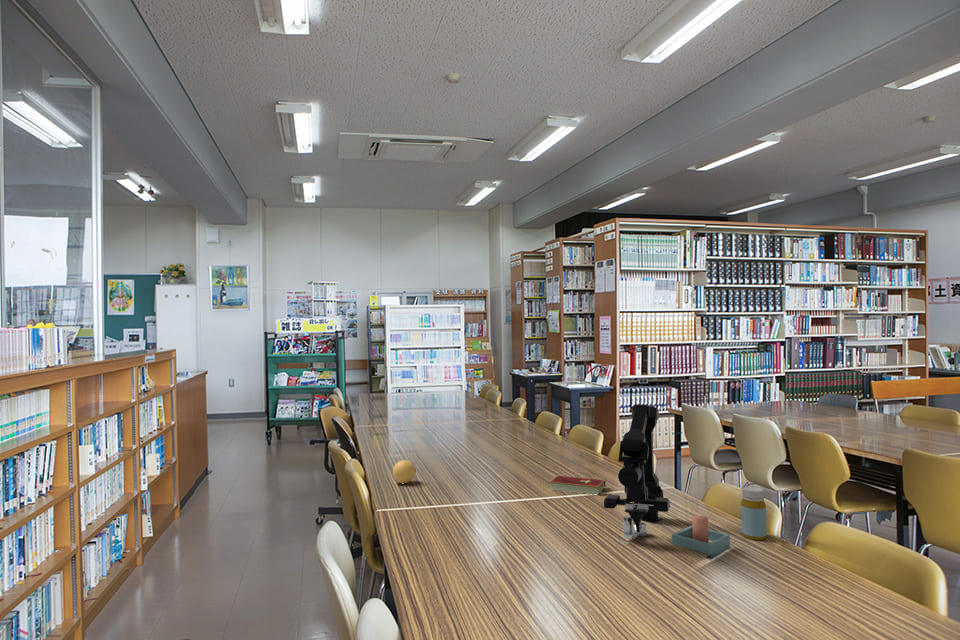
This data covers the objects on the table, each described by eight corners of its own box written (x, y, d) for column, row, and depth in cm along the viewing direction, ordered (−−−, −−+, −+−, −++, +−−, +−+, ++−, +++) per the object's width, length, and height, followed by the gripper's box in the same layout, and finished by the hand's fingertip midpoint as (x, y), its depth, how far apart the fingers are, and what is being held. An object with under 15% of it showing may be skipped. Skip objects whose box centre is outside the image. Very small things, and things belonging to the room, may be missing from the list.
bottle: (752, 541, 176) (751, 492, 177) (736, 534, 183) (735, 487, 183) (771, 539, 178) (770, 490, 178) (755, 532, 185) (754, 485, 185)
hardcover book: (557, 484, 248) (557, 474, 248) (605, 489, 240) (605, 479, 240) (548, 491, 237) (548, 481, 238) (598, 496, 229) (598, 486, 229)
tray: (691, 538, 180) (691, 525, 180) (729, 548, 171) (729, 534, 171) (672, 548, 172) (672, 534, 172) (711, 559, 163) (710, 545, 163)
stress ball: (403, 489, 245) (420, 472, 248) (388, 471, 246) (405, 455, 248) (402, 487, 255) (419, 471, 257) (387, 470, 255) (404, 454, 258)
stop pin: (697, 541, 175) (696, 514, 175) (711, 544, 171) (710, 517, 171) (690, 544, 172) (689, 517, 172) (704, 548, 168) (703, 521, 169)
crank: (636, 530, 183) (636, 508, 183) (648, 533, 180) (648, 511, 180) (619, 540, 174) (619, 517, 174) (632, 543, 172) (631, 520, 172)
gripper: (670, 474, 177) (673, 526, 176) (609, 472, 184) (612, 521, 184) (665, 483, 167) (669, 537, 166) (601, 480, 174) (605, 532, 173)
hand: (638, 532), depth 172 cm, fingers closed
